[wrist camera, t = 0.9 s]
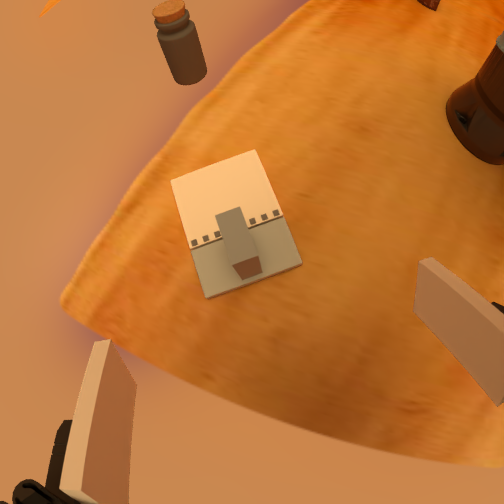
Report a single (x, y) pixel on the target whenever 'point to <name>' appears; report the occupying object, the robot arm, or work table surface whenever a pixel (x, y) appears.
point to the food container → (430, 3)
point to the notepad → (224, 197)
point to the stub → (244, 254)
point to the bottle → (179, 42)
